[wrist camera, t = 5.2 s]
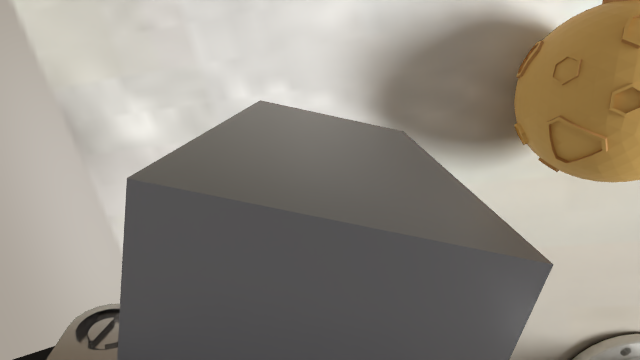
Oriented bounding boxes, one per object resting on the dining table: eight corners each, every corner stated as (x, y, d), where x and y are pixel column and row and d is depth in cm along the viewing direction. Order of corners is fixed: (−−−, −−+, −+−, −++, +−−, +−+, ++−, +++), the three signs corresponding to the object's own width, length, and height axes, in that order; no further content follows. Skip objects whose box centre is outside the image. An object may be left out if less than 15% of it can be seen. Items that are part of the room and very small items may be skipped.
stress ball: (636, 78, 26) (730, -71, 18) (711, 201, 21) (888, 73, 13) (487, 103, 28) (508, -19, 20) (522, 219, 23) (569, 121, 15)
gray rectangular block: (403, 131, 10) (553, 263, 3) (329, 390, 13) (334, 737, 6) (259, 100, 10) (127, 178, 3) (216, 370, 13) (98, 706, 6)
